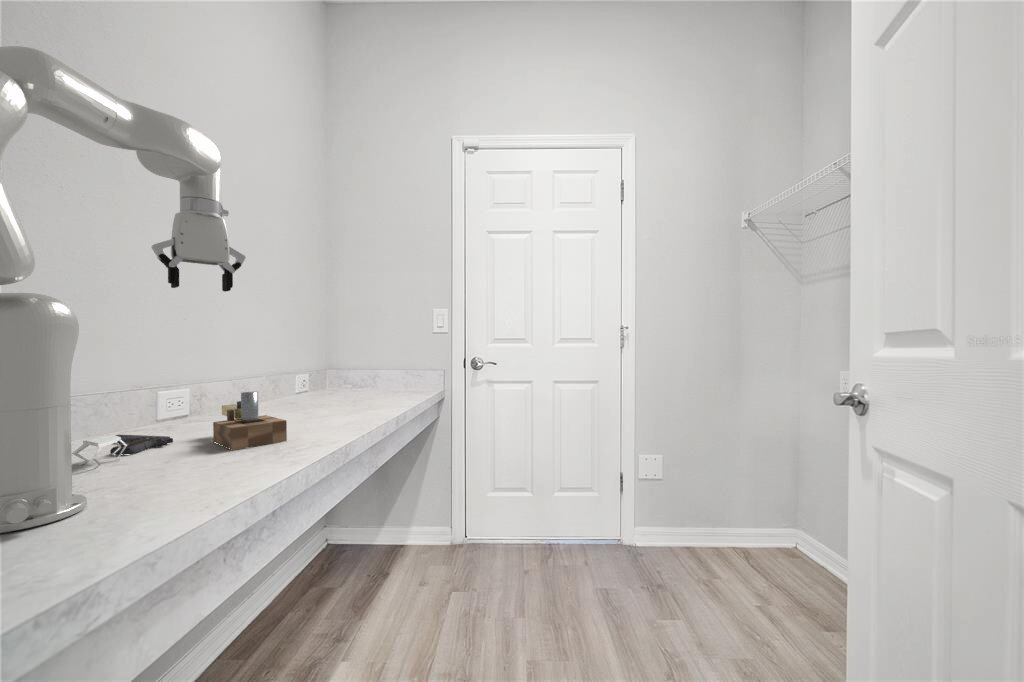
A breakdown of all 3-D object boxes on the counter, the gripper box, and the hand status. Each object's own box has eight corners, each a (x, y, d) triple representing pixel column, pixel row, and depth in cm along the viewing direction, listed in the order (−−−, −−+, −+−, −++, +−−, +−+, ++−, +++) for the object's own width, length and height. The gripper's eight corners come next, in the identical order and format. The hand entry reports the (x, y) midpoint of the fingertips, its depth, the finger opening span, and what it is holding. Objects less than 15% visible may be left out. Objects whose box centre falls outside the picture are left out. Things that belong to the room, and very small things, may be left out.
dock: (286, 440, 112) (286, 410, 112) (232, 450, 103) (231, 416, 103) (265, 434, 120) (265, 405, 120) (213, 442, 111) (212, 411, 111)
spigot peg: (255, 439, 114) (254, 391, 114) (261, 441, 112) (260, 392, 112) (239, 442, 111) (238, 392, 111) (245, 444, 109) (244, 393, 109)
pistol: (126, 446, 99) (180, 434, 110) (64, 443, 104) (122, 432, 116) (127, 458, 99) (181, 445, 110) (65, 454, 104) (122, 442, 116)
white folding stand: (71, 462, 94) (70, 438, 94) (124, 455, 100) (123, 432, 100) (74, 475, 86) (73, 448, 86) (132, 465, 92) (131, 441, 92)
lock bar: (249, 417, 115) (249, 401, 115) (236, 418, 113) (236, 402, 113) (234, 413, 122) (234, 398, 122) (221, 414, 120) (221, 399, 120)
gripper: (238, 221, 109) (238, 293, 109) (147, 205, 96) (147, 287, 96) (250, 215, 104) (251, 291, 104) (156, 198, 91) (157, 284, 91)
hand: (201, 289), depth 100 cm, fingers open, 9 cm apart
